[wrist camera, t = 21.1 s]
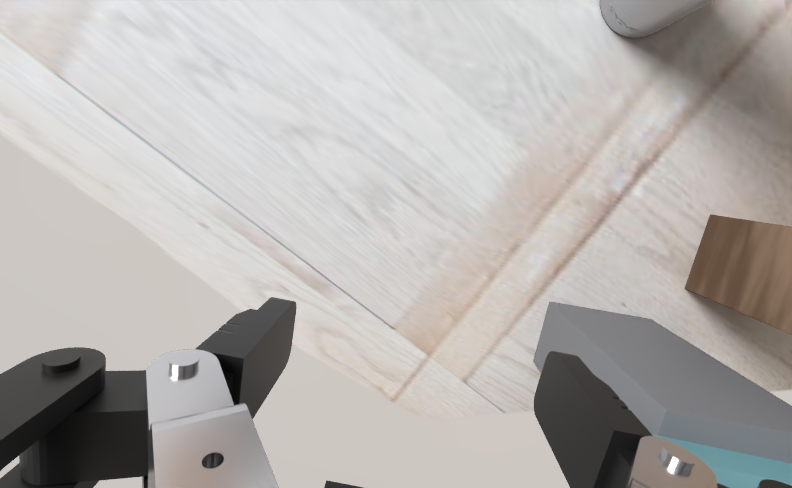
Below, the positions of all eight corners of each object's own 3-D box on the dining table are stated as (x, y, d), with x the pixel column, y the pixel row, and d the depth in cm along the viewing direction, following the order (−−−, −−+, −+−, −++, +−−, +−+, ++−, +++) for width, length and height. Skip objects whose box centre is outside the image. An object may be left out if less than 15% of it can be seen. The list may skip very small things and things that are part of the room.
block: (560, 462, 29) (573, 488, 26) (575, 418, 28) (591, 441, 26) (832, 519, 29) (870, 550, 27) (855, 477, 28) (896, 505, 26)
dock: (533, 361, 52) (630, 509, 29) (549, 301, 50) (666, 410, 28) (631, 378, 52) (802, 539, 29) (650, 319, 50) (850, 442, 28)
